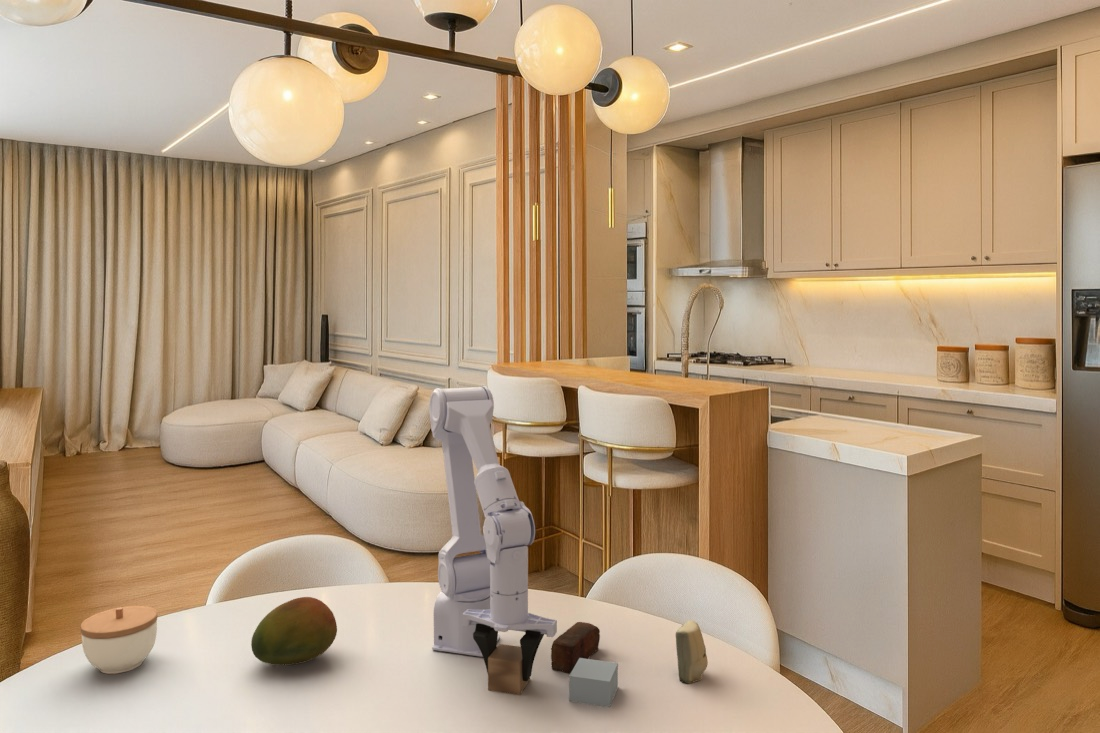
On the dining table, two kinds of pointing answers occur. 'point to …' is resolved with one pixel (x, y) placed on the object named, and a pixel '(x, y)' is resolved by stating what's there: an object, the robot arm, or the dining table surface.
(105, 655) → the lidded jar
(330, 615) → the fruit
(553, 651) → the brick
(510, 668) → the walnut cube
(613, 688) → the slate block
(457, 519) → the robot arm
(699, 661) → the tan tapered stone
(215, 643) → the dining table surface
